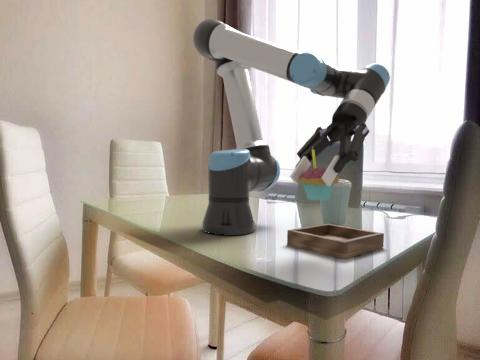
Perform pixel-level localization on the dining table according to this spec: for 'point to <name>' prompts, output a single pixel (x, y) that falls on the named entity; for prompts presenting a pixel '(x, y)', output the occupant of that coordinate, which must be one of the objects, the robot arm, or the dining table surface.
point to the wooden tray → (335, 240)
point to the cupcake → (316, 182)
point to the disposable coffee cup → (336, 204)
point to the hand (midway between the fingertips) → (309, 181)
